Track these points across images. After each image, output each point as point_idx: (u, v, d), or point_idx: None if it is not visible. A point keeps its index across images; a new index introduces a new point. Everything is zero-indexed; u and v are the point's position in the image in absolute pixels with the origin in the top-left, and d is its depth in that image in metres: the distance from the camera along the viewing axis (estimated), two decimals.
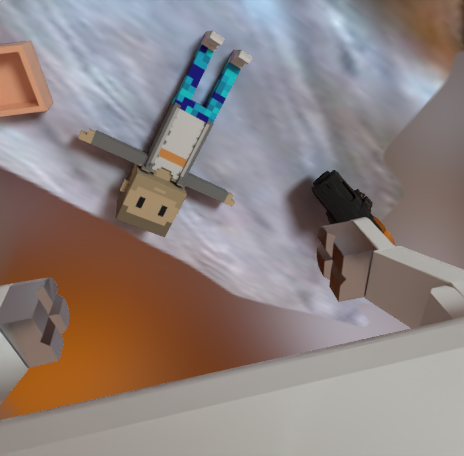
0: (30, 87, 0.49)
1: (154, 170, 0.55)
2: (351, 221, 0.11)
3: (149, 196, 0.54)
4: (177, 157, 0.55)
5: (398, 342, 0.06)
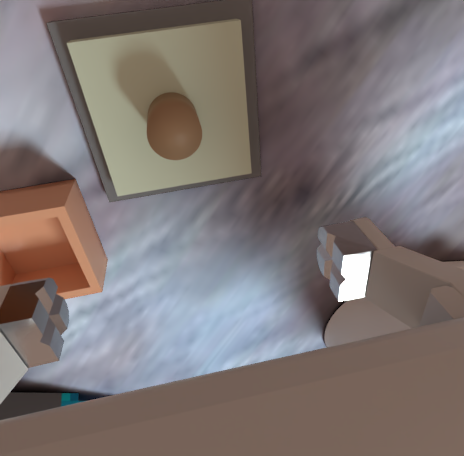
0: (31, 258, 0.29)
1: None
2: (351, 221, 0.11)
3: None
4: None
5: (398, 342, 0.06)
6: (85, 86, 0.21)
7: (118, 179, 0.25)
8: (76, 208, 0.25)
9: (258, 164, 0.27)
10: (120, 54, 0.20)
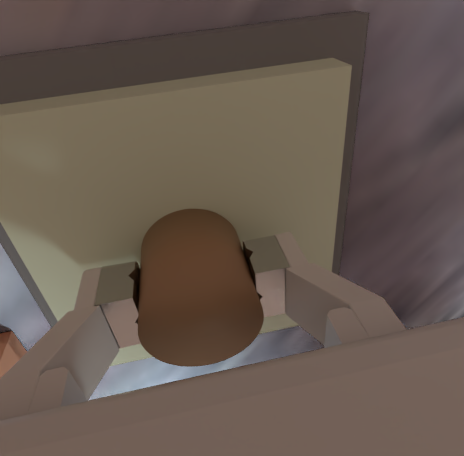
0: None
1: None
2: (273, 236, 0.10)
3: None
4: None
5: (398, 342, 0.06)
6: (2, 208, 0.10)
7: None
8: None
9: None
10: (76, 143, 0.09)
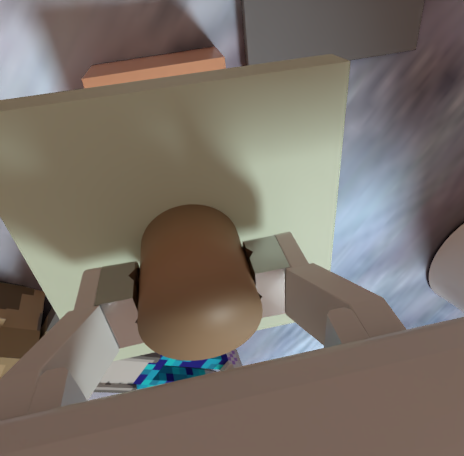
0: None
1: None
2: (273, 236, 0.10)
3: None
4: None
5: (398, 342, 0.06)
6: (3, 203, 0.10)
7: None
8: None
9: (416, 32, 0.24)
10: (76, 138, 0.09)
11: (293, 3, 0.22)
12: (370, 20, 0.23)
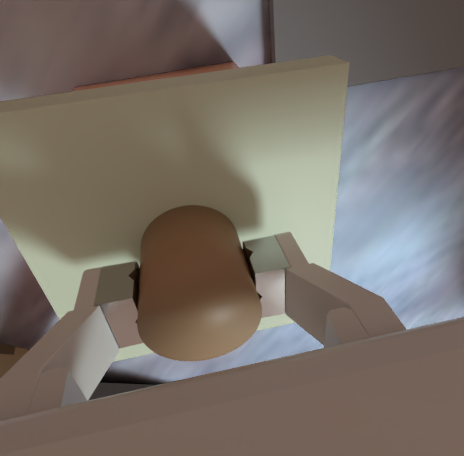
0: None
1: None
2: (273, 236, 0.10)
3: None
4: None
5: (398, 342, 0.06)
6: (3, 204, 0.10)
7: None
8: None
9: None
10: (76, 140, 0.09)
11: (337, 6, 0.17)
12: (433, 27, 0.18)
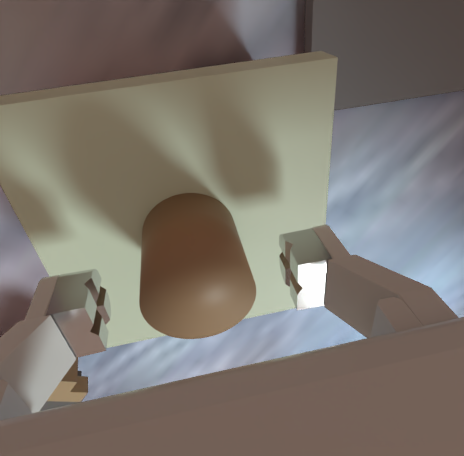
0: None
1: None
2: (311, 229, 0.10)
3: None
4: None
5: (398, 342, 0.06)
6: (13, 191, 0.10)
7: None
8: None
9: None
10: (82, 129, 0.10)
11: (391, 1, 0.13)
12: None
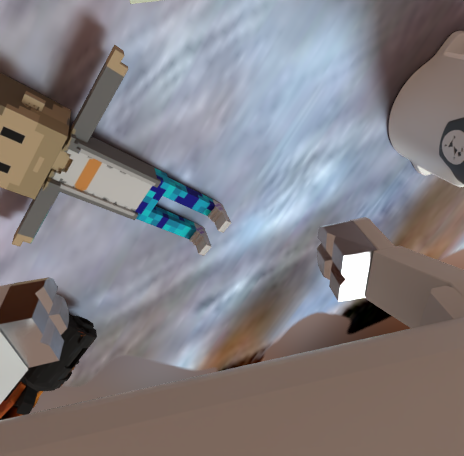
0: None
1: (66, 150, 0.37)
2: (351, 221, 0.11)
3: (26, 149, 0.34)
4: (88, 180, 0.40)
5: (397, 342, 0.06)
6: None
7: None
8: None
9: None
10: None
11: None
12: None
